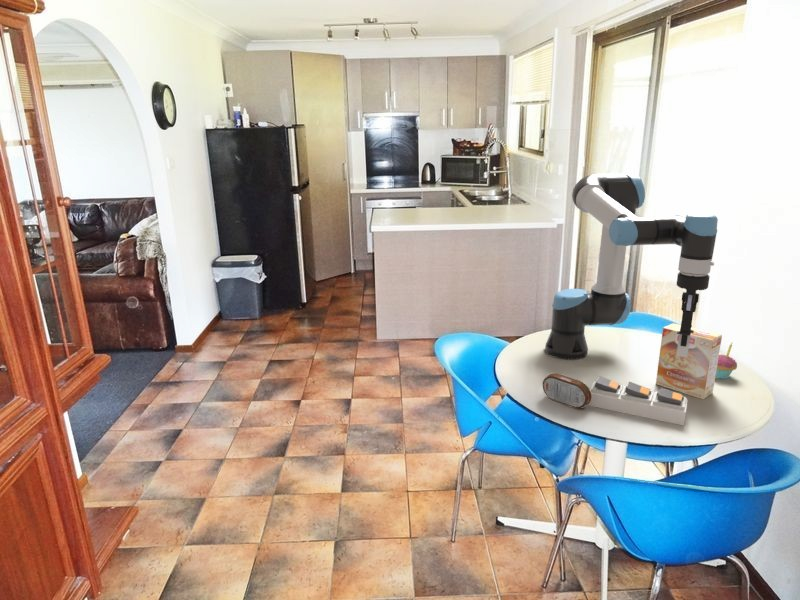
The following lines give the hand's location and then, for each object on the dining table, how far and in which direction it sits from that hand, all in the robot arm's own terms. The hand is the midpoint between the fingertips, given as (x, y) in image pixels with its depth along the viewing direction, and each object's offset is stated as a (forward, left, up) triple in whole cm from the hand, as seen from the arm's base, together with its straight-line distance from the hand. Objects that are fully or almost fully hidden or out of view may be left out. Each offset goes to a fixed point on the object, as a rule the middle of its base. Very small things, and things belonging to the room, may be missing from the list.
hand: (681, 355), depth 153 cm
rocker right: (-2, -1, -13) cm, 13 cm away
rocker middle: (-10, -1, -13) cm, 16 cm away
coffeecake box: (+1, +20, -19) cm, 28 cm away
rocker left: (-19, -1, -13) cm, 23 cm away
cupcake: (+11, +36, -19) cm, 42 cm away
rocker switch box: (-11, -1, -18) cm, 22 cm away
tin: (-29, -7, -19) cm, 35 cm away
